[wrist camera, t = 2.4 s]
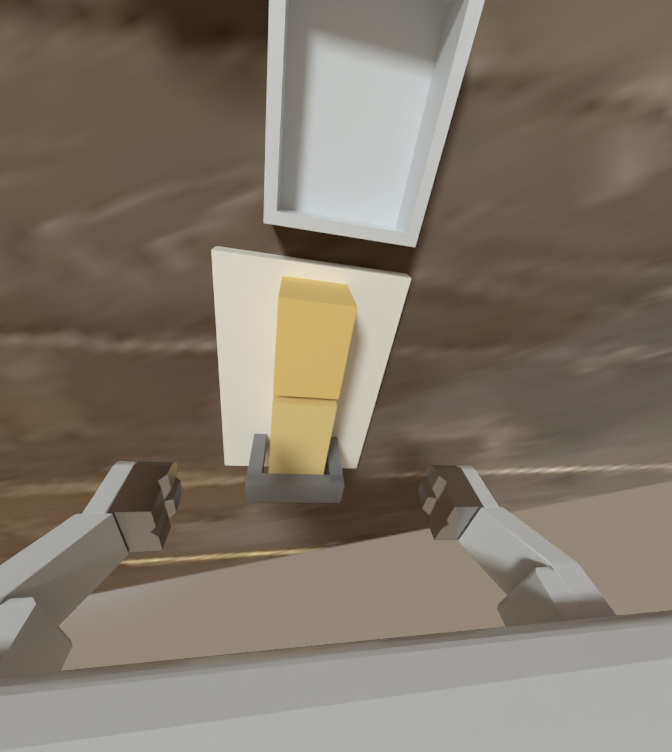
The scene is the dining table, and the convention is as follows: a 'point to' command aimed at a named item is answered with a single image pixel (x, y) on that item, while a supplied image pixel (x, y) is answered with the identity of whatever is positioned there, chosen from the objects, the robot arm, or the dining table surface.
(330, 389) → the stub
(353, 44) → the stub tray
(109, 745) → the robot arm
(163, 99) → the dining table surface
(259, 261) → the board
